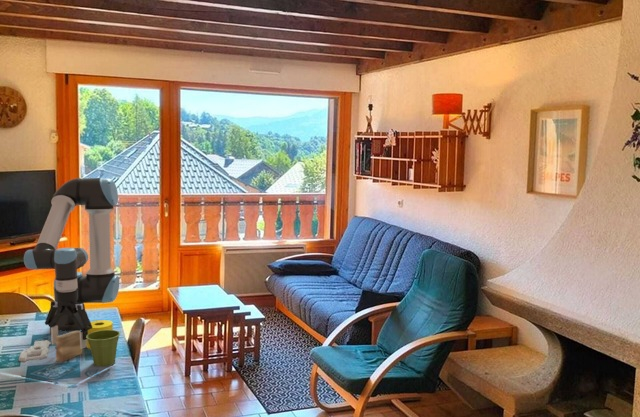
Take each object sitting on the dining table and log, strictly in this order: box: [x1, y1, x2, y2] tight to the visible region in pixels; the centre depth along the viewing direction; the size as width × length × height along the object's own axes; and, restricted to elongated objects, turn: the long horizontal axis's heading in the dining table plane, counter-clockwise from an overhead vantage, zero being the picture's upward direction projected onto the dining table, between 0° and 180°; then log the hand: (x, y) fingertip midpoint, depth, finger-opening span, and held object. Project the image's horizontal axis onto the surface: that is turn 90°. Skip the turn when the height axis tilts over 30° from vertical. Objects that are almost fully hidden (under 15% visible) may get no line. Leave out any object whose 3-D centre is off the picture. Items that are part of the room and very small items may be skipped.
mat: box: [20, 375, 54, 383], centre depth 219 cm, size 16×14×1 cm
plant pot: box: [86, 329, 121, 367], centre depth 225 cm, size 12×12×11 cm
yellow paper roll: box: [86, 319, 114, 350], centre depth 243 cm, size 10×10×9 cm
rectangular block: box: [55, 330, 83, 363], centre depth 231 cm, size 3×10×9 cm, turn 159°
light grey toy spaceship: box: [18, 340, 52, 363], centre depth 235 cm, size 18×4×10 cm
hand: (69, 345), depth 230 cm, fingers open, 13 cm apart
